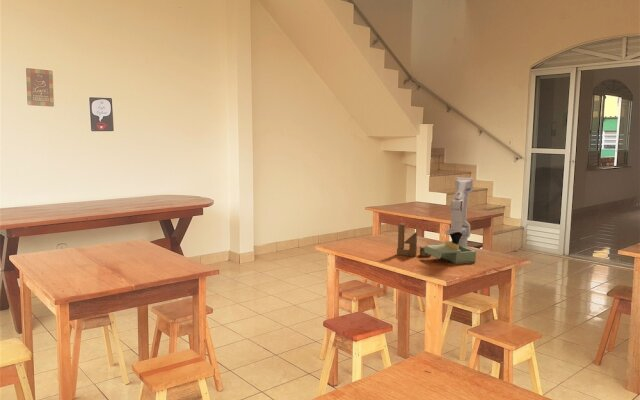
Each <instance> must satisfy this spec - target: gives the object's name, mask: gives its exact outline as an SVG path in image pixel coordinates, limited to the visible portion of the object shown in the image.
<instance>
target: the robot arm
mask: <svg viewBox="0 0 640 400" xmlns="http://www.w3.org/2000/svg"><path fill="white" fill-rule="evenodd" d="M454 186H455V187H454V188H455V190H456V192H455V193H454V195H453V198H452V200H450V215H451V217H450V228H448V230H445V235H449V236H450V238H451V242H452V243H455V244H457V245H460V246H463V247H466V248H468V238H470V236H471V224H470V223H469V222H468V221H467V212H468V203H469V196H470V194H472V193H473V191H474V190H473V189H474V178H473V177H459V176H457V177H455V180H454Z"/></svg>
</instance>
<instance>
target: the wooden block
mask: <svg viewBox="0 0 640 400" xmlns="http://www.w3.org/2000/svg"><path fill="white" fill-rule="evenodd" d="M405 225H406V224H405V223H398V226H397V233H398V234H397V248H396V256H405V257H414V258H415V257H416V256H417V247H418V245H417V243H418V231H415V232H414V233H413V234H412V235H411V236H410V237H408V239H406V240H405V230H406V228H405ZM405 244H406V245H407V244H408V247H409V248H405Z"/></svg>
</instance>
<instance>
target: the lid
mask: <svg viewBox="0 0 640 400" xmlns="http://www.w3.org/2000/svg"><path fill="white" fill-rule="evenodd" d="M424 247H425V250H424V252H425V253H427V254H429V255H431V257H434V258H437V259H438V260H440V259H441V258H442V257H441V254H442V253H456V252H461V250H459V245H457V244H455V243H452V241H449V240H445V241H444V243H442V244H429V245H425V246H424Z"/></svg>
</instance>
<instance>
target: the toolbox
mask: <svg viewBox="0 0 640 400" xmlns="http://www.w3.org/2000/svg"><path fill="white" fill-rule="evenodd" d="M459 250H461V252H456V253H442V254H441V258H442V259H445V260H446V261H448V262H449V261H450V262H451V263H453V264H457V265H458V264H470V263H471V264H472V263H476V255H477V251H476V250H473V249H470V248H468V247H467V248H466V247H463V246H460V245H459Z"/></svg>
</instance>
